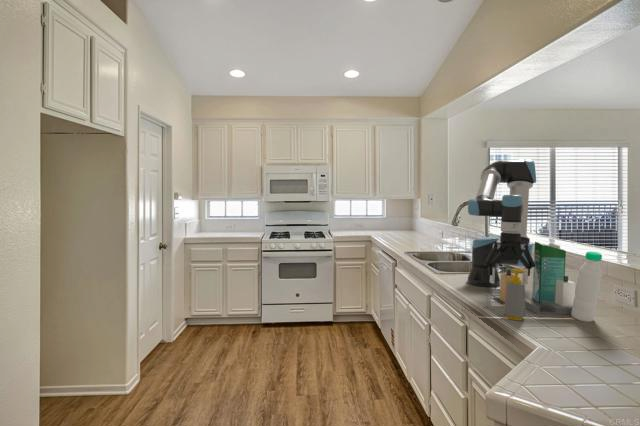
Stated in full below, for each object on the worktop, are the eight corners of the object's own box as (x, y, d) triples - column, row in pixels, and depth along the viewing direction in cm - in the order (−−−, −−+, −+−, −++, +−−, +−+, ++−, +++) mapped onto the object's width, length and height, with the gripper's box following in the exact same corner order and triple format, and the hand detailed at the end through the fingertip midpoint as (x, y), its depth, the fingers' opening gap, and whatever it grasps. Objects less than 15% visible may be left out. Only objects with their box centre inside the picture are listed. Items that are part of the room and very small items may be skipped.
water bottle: (588, 324, 137) (601, 257, 131) (567, 316, 142) (578, 252, 137) (597, 319, 141) (610, 254, 135) (575, 311, 146) (587, 248, 141)
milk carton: (563, 306, 157) (566, 245, 156) (538, 304, 159) (541, 244, 158) (555, 300, 166) (558, 242, 164) (532, 298, 168) (534, 241, 167)
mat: (490, 299, 166) (490, 297, 166) (513, 299, 166) (513, 298, 166) (501, 305, 156) (501, 304, 156) (525, 306, 156) (526, 304, 156)
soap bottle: (518, 322, 137) (520, 272, 136) (500, 316, 142) (502, 268, 141) (529, 319, 140) (531, 270, 139) (510, 313, 146) (513, 266, 145)
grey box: (524, 308, 154) (525, 273, 153) (577, 308, 154) (579, 274, 153) (536, 315, 145) (538, 278, 144) (593, 316, 145) (595, 279, 144)
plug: (499, 299, 163) (501, 269, 163) (510, 299, 163) (511, 269, 163) (504, 302, 159) (506, 271, 158) (515, 302, 159) (517, 271, 158)
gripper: (484, 232, 156) (481, 284, 157) (546, 233, 156) (543, 286, 157) (476, 230, 163) (474, 280, 164) (535, 232, 163) (533, 282, 164)
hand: (508, 283), depth 160 cm, fingers open, 13 cm apart
